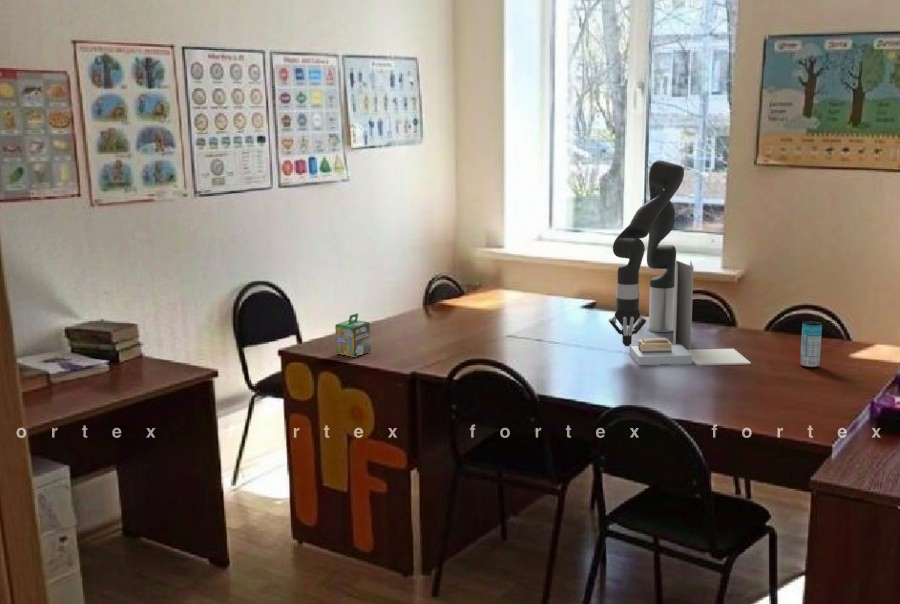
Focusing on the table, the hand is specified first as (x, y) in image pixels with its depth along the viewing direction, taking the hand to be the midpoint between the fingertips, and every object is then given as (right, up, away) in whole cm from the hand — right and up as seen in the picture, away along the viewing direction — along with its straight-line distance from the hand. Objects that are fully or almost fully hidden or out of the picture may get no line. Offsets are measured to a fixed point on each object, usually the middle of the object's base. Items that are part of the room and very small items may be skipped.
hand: (626, 345), depth 302 cm
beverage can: (+58, -6, -12) cm, 59 cm away
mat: (+31, -4, +1) cm, 31 cm away
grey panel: (+24, -1, +19) cm, 30 cm away
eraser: (+10, -2, 0) cm, 10 cm away
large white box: (+12, -5, +1) cm, 13 cm away
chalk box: (-95, -4, +17) cm, 97 cm away
